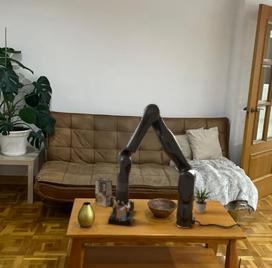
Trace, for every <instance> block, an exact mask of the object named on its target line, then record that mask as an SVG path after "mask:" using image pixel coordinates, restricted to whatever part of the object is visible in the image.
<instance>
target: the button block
mask: <svg viewBox="0 0 272 268" xmlns="http://www.w3.org/2000/svg"><path fill="white" fill-rule="evenodd" d="M120 208H121V206H119V205H117V206H116V213H117V210H119V209H120ZM133 212H134V210H133V211H131V213H130V214H132V215H133ZM126 214H127V209H126Z"/></svg>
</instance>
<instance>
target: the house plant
mask: <svg viewBox="0 0 272 268" xmlns="http://www.w3.org/2000/svg"><path fill="white" fill-rule="evenodd" d="M195 189H196V191H197V192H196V191H194V194H195V195H194V199H197V200H196V201H195V212H196V213H197V214H205V212H206V207H207V205H208V203H207V200H208V201H210V202H211V200H212V199H210V195H209V194H212V190H210V191H208V192H206V191H207V187H206V186H205V187H204V189H203V188H200V190H199V189H198V187H195Z"/></svg>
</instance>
